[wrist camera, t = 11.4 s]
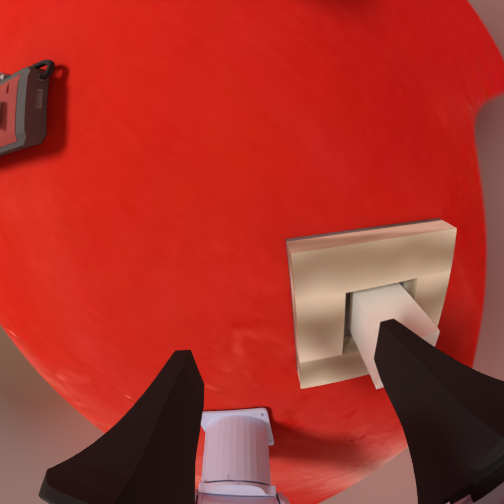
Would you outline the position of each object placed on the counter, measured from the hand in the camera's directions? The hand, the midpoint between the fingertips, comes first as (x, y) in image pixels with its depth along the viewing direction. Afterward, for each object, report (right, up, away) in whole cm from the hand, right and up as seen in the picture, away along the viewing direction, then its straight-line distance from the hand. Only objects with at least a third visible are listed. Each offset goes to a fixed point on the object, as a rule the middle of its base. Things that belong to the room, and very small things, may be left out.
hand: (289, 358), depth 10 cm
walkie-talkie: (-26, +17, +4) cm, 31 cm away
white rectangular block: (+8, 0, +11) cm, 14 cm away
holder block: (+8, 0, +12) cm, 14 cm away
